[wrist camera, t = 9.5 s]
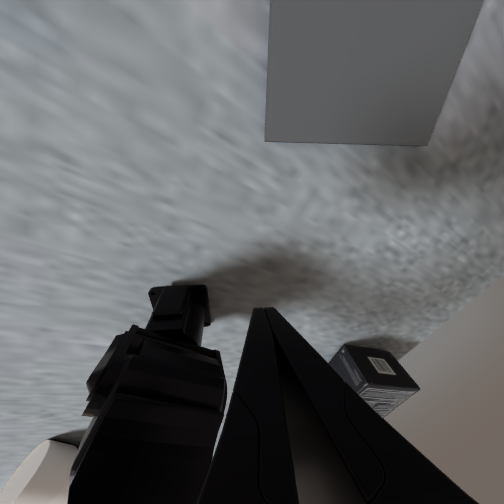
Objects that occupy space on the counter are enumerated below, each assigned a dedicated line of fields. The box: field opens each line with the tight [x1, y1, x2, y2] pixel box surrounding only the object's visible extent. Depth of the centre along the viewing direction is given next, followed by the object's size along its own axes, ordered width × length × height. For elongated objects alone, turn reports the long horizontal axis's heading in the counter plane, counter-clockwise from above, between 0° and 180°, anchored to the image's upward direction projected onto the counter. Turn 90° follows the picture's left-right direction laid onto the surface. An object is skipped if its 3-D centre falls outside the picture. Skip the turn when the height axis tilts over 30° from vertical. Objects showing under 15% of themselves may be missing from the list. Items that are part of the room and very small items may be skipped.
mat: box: [264, 0, 483, 146], centre depth 15 cm, size 9×15×1 cm, turn 89°
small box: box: [329, 345, 420, 418], centre depth 31 cm, size 11×6×10 cm
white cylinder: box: [0, 440, 78, 504], centre depth 32 cm, size 12×9×8 cm
